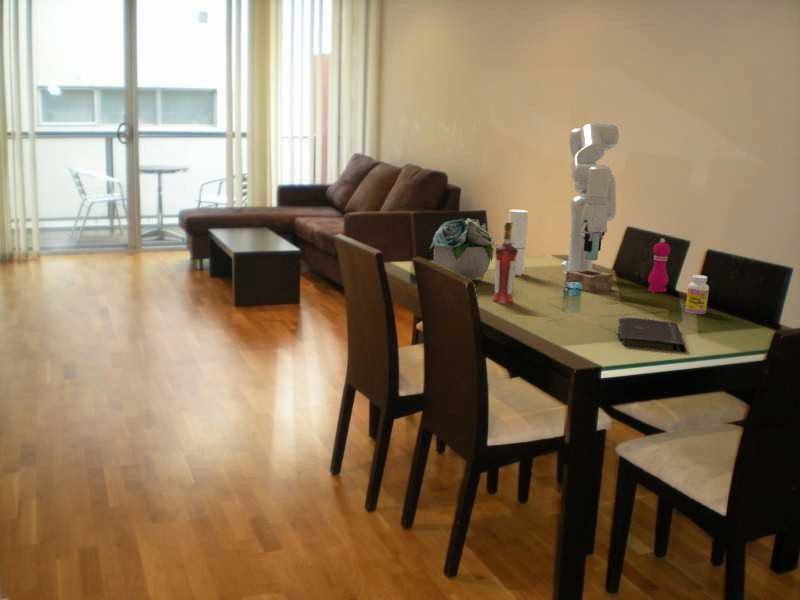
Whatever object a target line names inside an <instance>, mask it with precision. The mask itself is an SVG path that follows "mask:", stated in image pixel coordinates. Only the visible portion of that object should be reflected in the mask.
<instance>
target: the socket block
mask: <svg viewBox="0 0 800 600" xmlns="http://www.w3.org/2000/svg"><path fill="white" fill-rule="evenodd" d="M565 275H566V276H565V283H566V282H579V283H581V285H582V290H581V291H584V292H588V293H596V292H603V291H611V290H612V288H613V282H614V281H613V280H614V278H613V277H614V274H613V273H609V272H603V271H600V270H595V269H592V270H591V269H582V270H575V271H568V272H567V273H566V274H565Z"/></svg>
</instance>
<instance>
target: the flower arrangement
mask: <svg viewBox="0 0 800 600" xmlns="http://www.w3.org/2000/svg"><path fill="white" fill-rule="evenodd" d="M486 226H487V225H486V223H482V225H481V224H480V221H479V219H475V218H474V219H473V218H472V219H471V218H467V217H463V218H459V219H454V220H448V221H444V222H442V224H441V225H440V227H439V228H438V229H437V231H435V234H434V236H433V238H432V242H431V243H430V244H431V245H430V247H429V249H432V248H433V247H434V249H433V263H436V264H438V265H440V266H442V267H444V268H447V269H449V270H451V271H454V272H456V273H459V274H461V275H463V276H465V277H467V278H469V279H471V280H473V281H474V280H475V279H477V278H480V277H481V276H483V275H485V273H486V272H487V271H488V269H489V267H490V265H491V263H493V255H494V248H493V247H495V248H496V247H499V244H497V243H496V242H495V238H493V236H491V234H489V233H488V231H487V230H486V229H487V227H486Z"/></svg>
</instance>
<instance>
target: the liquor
mask: <svg viewBox="0 0 800 600" xmlns="http://www.w3.org/2000/svg"><path fill="white" fill-rule="evenodd" d="M503 224H504V226H503V227H504V229H503V231H504V232H503V233H504V234H503V237H502V238H503V239H502V244H501V245H498V246H496V247H495V261H494V271H495V272H494V274H495V275H494V294H493V295H494V296H493V299H492V301H493V303H496V304H497V303H498V304H506V305H509V304H512V303H514V301H513V291H514V284H515V283H514V282H515V276H516V275H515V269H516V261H517V252H518V250H517V249H516V248H515V247H513V246H511V230H512V224H513V222H509V221H504V223H503Z"/></svg>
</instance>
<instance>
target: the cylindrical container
mask: <svg viewBox="0 0 800 600" xmlns="http://www.w3.org/2000/svg"><path fill="white" fill-rule="evenodd" d="M508 215H509V217H508V222H513V224H512V230H511V246H513V247H515V248H516V249H517V250H518V252H517V261H516V269H515V276H523V275H524V273H525V271H524V270H525V257H526V247H527V246H526V245H527V231H528V221H529V220H528V218H529V211H528V210H524V209H509V214H508ZM522 274H523V275H522Z"/></svg>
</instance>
